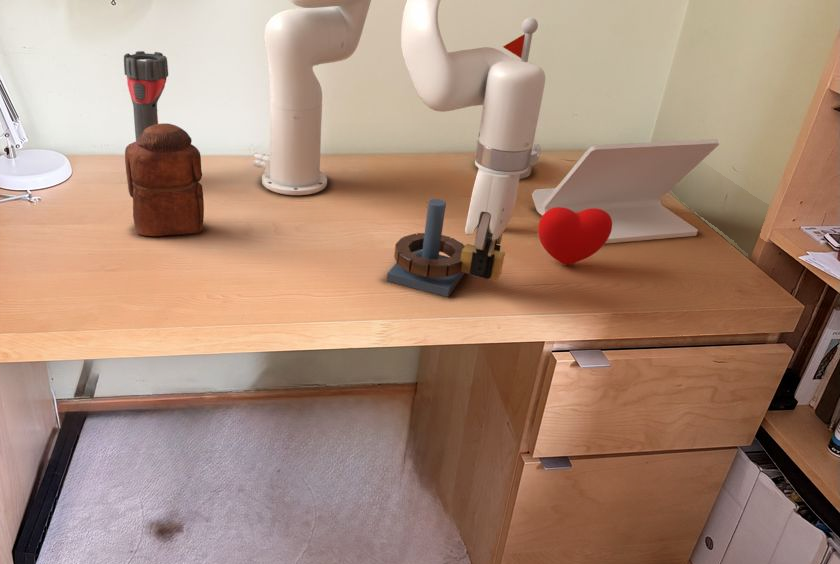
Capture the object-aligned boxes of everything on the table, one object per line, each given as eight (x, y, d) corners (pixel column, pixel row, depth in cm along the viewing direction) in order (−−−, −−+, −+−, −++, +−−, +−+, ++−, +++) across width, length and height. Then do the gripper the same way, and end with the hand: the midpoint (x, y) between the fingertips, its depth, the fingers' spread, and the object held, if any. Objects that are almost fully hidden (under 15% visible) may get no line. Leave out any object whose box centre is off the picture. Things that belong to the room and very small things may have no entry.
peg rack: (386, 281, 121) (394, 206, 114) (408, 255, 128) (417, 183, 121) (448, 297, 117) (459, 221, 111) (467, 269, 125) (478, 197, 118)
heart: (595, 258, 131) (610, 203, 125) (605, 273, 127) (621, 217, 121) (527, 256, 130) (538, 200, 125) (535, 272, 126) (547, 215, 120)
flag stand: (514, 155, 170) (541, 9, 154) (547, 178, 160) (580, 24, 144) (462, 160, 166) (483, 11, 149) (492, 183, 156) (519, 26, 139)
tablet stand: (698, 235, 141) (729, 144, 131) (576, 246, 134) (600, 151, 125) (640, 195, 155) (665, 110, 146) (528, 203, 149) (545, 115, 139)
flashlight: (166, 168, 154) (157, 48, 141) (181, 182, 148) (173, 58, 136) (128, 174, 150) (115, 51, 138) (141, 188, 145) (129, 62, 132)
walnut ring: (384, 266, 119) (386, 245, 117) (409, 238, 127) (411, 218, 125) (489, 293, 114) (493, 271, 112) (507, 262, 122) (511, 241, 120)
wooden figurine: (201, 219, 136) (196, 117, 126) (206, 235, 130) (201, 130, 120) (131, 223, 133) (120, 119, 123) (133, 240, 128) (122, 133, 118)
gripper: (492, 134, 116) (474, 245, 126) (460, 168, 103) (442, 288, 113) (542, 143, 113) (519, 256, 124) (515, 180, 101) (492, 301, 111)
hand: (483, 270), depth 118 cm, fingers closed on walnut ring, 2 cm apart
